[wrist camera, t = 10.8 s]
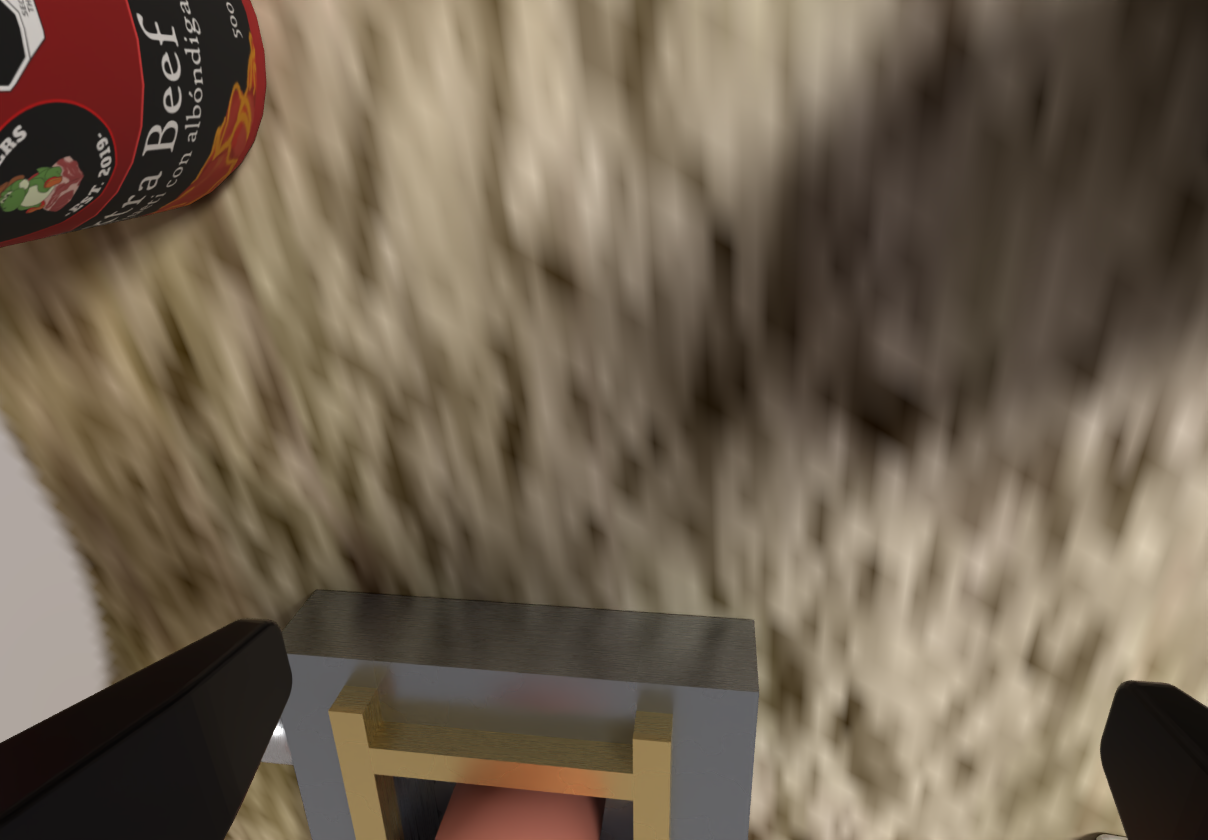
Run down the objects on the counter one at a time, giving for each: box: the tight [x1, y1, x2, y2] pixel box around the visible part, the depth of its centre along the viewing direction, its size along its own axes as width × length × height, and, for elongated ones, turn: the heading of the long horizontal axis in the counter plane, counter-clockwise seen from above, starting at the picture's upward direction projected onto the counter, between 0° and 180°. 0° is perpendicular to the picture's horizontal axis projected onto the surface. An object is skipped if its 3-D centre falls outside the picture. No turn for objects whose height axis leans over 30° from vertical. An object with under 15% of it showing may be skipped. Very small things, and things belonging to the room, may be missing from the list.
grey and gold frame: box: [261, 590, 759, 840], centre depth 25 cm, size 17×14×4 cm
